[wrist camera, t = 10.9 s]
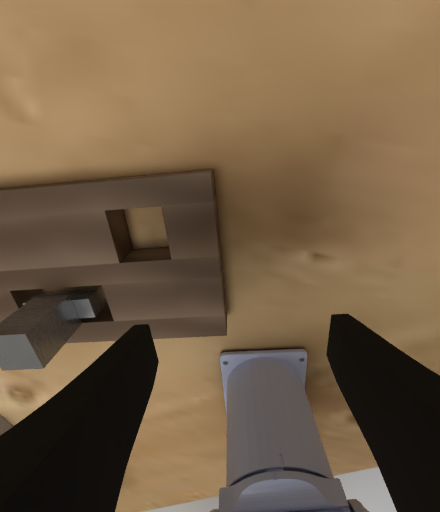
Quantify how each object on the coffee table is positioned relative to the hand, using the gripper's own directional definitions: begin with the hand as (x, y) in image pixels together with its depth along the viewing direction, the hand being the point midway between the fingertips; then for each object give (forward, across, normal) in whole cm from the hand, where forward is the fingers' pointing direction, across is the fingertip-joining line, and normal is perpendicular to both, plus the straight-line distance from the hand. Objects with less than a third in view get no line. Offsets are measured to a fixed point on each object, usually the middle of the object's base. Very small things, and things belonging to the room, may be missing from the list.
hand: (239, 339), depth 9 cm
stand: (+9, +10, 0) cm, 14 cm away
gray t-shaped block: (+10, +13, +2) cm, 16 cm away
